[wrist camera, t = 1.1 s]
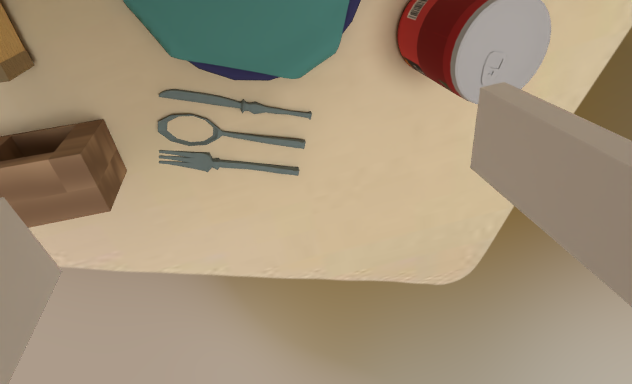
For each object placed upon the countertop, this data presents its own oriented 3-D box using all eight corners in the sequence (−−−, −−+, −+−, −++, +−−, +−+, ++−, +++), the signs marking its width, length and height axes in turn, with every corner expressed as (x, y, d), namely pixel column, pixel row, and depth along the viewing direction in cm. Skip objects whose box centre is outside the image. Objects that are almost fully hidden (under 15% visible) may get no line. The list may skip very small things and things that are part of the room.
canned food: (391, 72, 37) (446, 111, 28) (398, -18, 33) (467, -6, 24) (459, 66, 39) (532, 101, 30) (475, -22, 34) (568, -12, 25)
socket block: (-16, 139, 32) (-66, 180, 26) (103, 119, 33) (80, 153, 28) (19, 190, 35) (-20, 237, 29) (126, 170, 36) (110, 211, 31)
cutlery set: (398, -168, 27) (411, -176, 25) (311, 175, 43) (315, 185, 41) (98, -294, 21) (87, -316, 20) (121, 157, 37) (116, 168, 35)
